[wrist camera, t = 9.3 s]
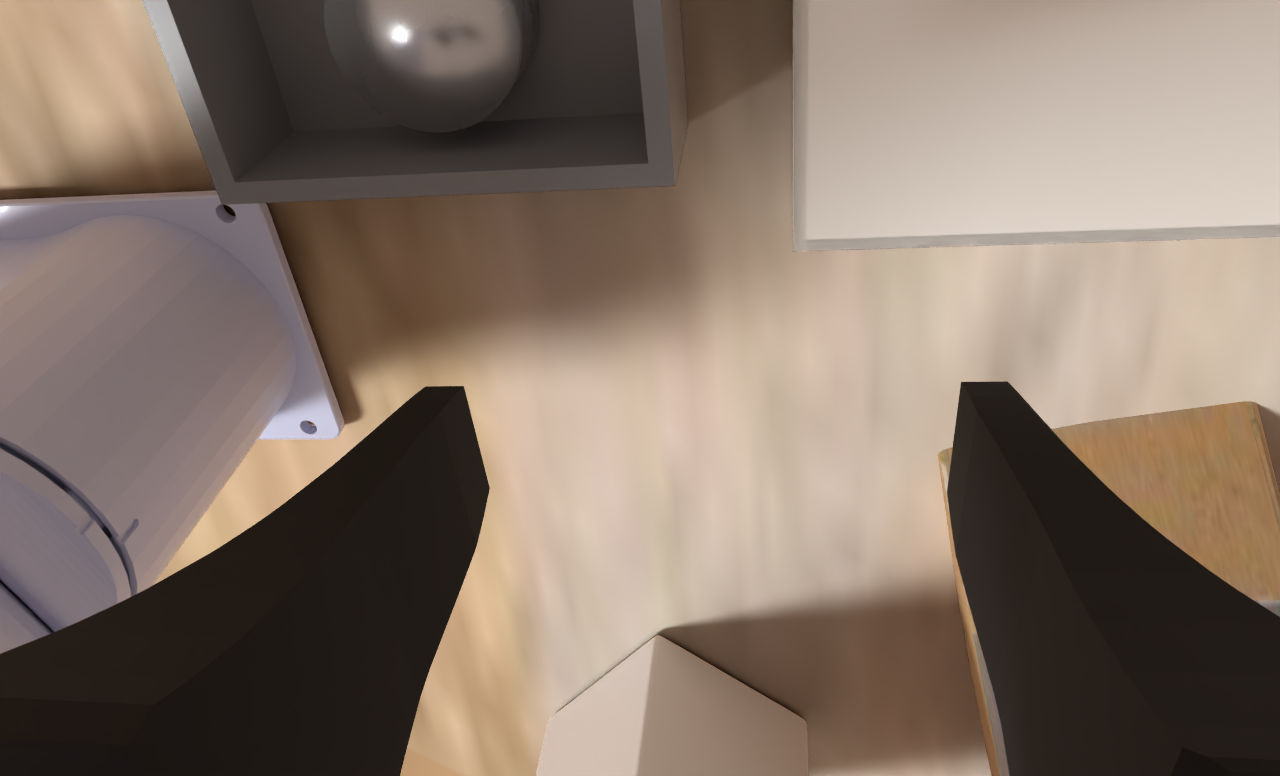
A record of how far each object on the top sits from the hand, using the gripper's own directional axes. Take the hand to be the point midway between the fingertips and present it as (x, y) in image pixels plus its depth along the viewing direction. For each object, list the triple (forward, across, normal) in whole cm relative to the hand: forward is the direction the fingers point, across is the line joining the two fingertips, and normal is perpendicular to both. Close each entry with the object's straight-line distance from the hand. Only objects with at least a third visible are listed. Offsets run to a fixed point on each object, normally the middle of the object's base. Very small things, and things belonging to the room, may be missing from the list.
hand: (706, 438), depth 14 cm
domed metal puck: (+10, +6, -4) cm, 12 cm away
